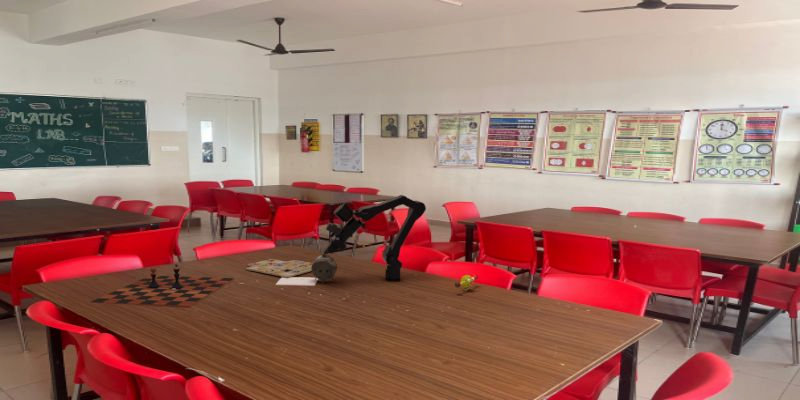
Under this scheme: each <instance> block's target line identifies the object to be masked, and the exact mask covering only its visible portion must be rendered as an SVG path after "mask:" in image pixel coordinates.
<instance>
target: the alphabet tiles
mask: <svg viewBox="0 0 800 400" xmlns="http://www.w3.org/2000/svg"><path fill="white" fill-rule="evenodd" d="M312 264H313V262H307V261H302V260H299V259H298V260H297V259H293V260H288V261H285V260H279V259H275V258H274V259H273V258H270V259H266V260H261V261H257V262H252V263H247V267H246V269H245V270H246V271H250V272H255V273H256V272H257V273H262V274H267V275H271V276H276V277H280V278H281V277H286V278H288V277H296V276H298V275H303V274H306V273H309V272H312V269H311V267H312Z"/></svg>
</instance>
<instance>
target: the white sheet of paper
mask: <svg viewBox="0 0 800 400" xmlns="http://www.w3.org/2000/svg"><path fill="white" fill-rule="evenodd" d="M315 278H316V277H308V276H307V277H306V276H304V277H299V276H298V277H297V276H292V277H288V278H286V277H281V276H280V278H279V280H278V281H277V282H276V284H275V286H301V287H302V286H306V287H308V286H309V287H310V286H311V287H315V286H316V285H317V283H318V280H319V279H318V278H317V279H316V280H315Z"/></svg>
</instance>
